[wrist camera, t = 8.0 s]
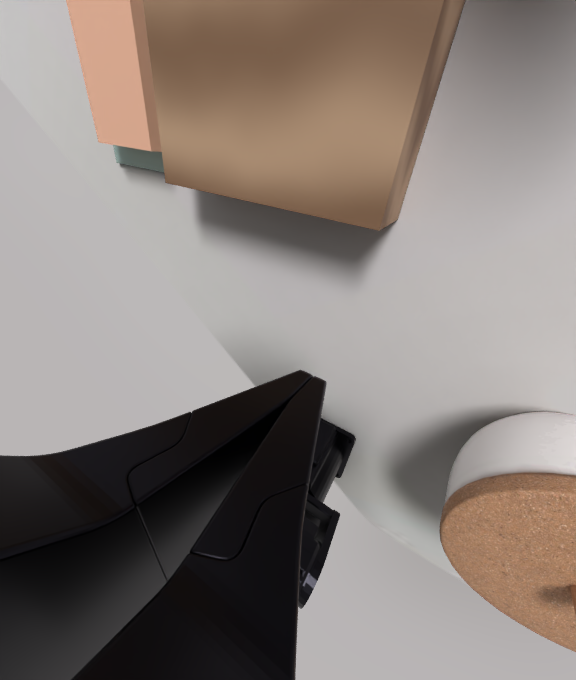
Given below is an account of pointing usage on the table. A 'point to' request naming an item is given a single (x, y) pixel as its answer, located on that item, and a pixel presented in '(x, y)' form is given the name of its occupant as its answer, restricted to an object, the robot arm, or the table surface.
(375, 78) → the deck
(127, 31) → the peach upright slab
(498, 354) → the table surface
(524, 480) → the lidded jar
